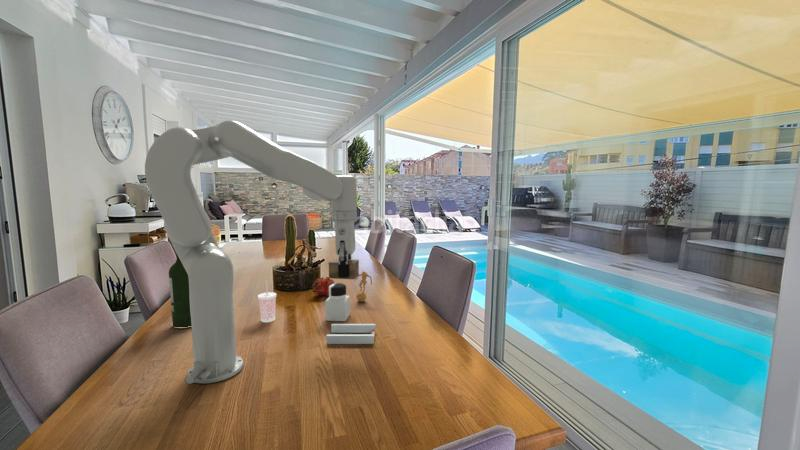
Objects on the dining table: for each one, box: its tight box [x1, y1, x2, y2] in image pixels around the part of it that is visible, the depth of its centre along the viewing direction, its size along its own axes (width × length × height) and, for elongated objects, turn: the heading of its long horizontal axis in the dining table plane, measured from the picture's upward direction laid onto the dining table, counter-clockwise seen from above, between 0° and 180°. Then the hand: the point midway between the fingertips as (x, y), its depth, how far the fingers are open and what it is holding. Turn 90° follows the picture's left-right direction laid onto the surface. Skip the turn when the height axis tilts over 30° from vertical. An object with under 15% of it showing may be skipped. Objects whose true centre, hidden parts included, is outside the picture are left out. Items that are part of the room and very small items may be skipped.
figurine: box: [353, 271, 373, 303], centre depth 144 cm, size 8×6×12 cm
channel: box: [325, 323, 376, 345], centre depth 111 cm, size 9×14×2 cm, turn 90°
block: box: [328, 258, 360, 280], centre depth 111 cm, size 5×8×5 cm, turn 82°
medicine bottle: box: [324, 282, 351, 322], centre depth 126 cm, size 7×7×12 cm
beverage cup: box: [257, 280, 277, 323], centre depth 124 cm, size 6×6×14 cm
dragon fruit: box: [312, 276, 335, 297], centre depth 152 cm, size 8×8×12 cm
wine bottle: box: [168, 252, 192, 328], centre depth 119 cm, size 8×8×30 cm
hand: (345, 274), depth 111 cm, fingers closed on block, 5 cm apart
